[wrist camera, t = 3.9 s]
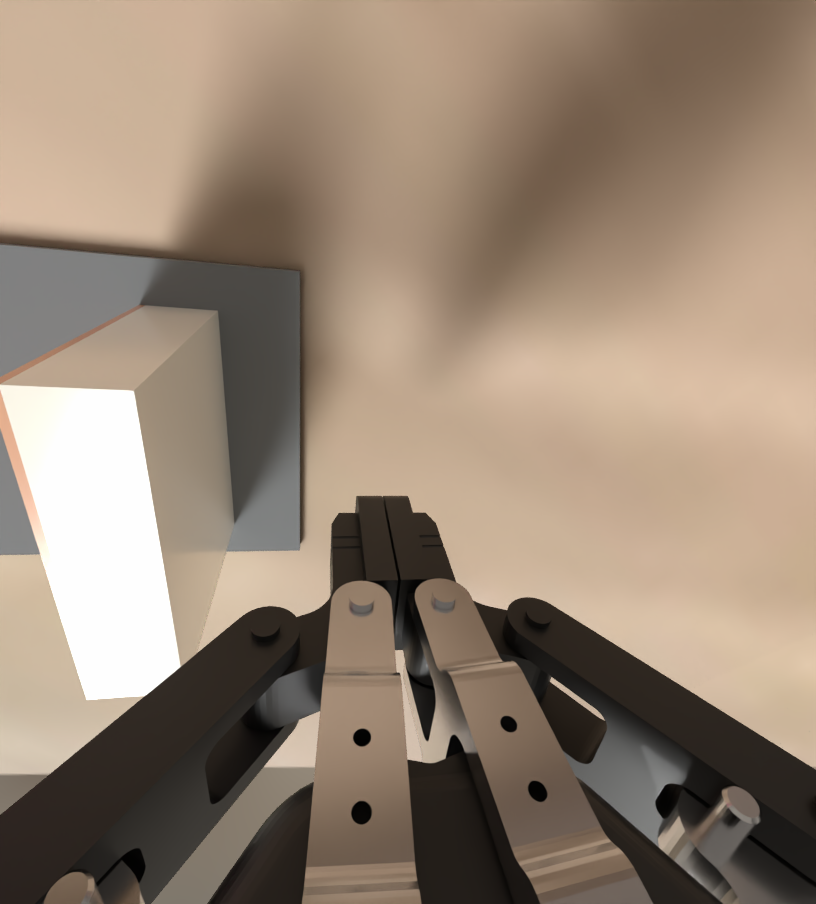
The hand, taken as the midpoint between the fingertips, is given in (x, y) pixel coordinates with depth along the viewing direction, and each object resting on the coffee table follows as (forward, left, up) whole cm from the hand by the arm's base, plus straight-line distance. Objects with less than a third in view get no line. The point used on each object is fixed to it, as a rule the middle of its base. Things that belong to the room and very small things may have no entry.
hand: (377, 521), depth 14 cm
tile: (+7, 0, -6) cm, 9 cm away
